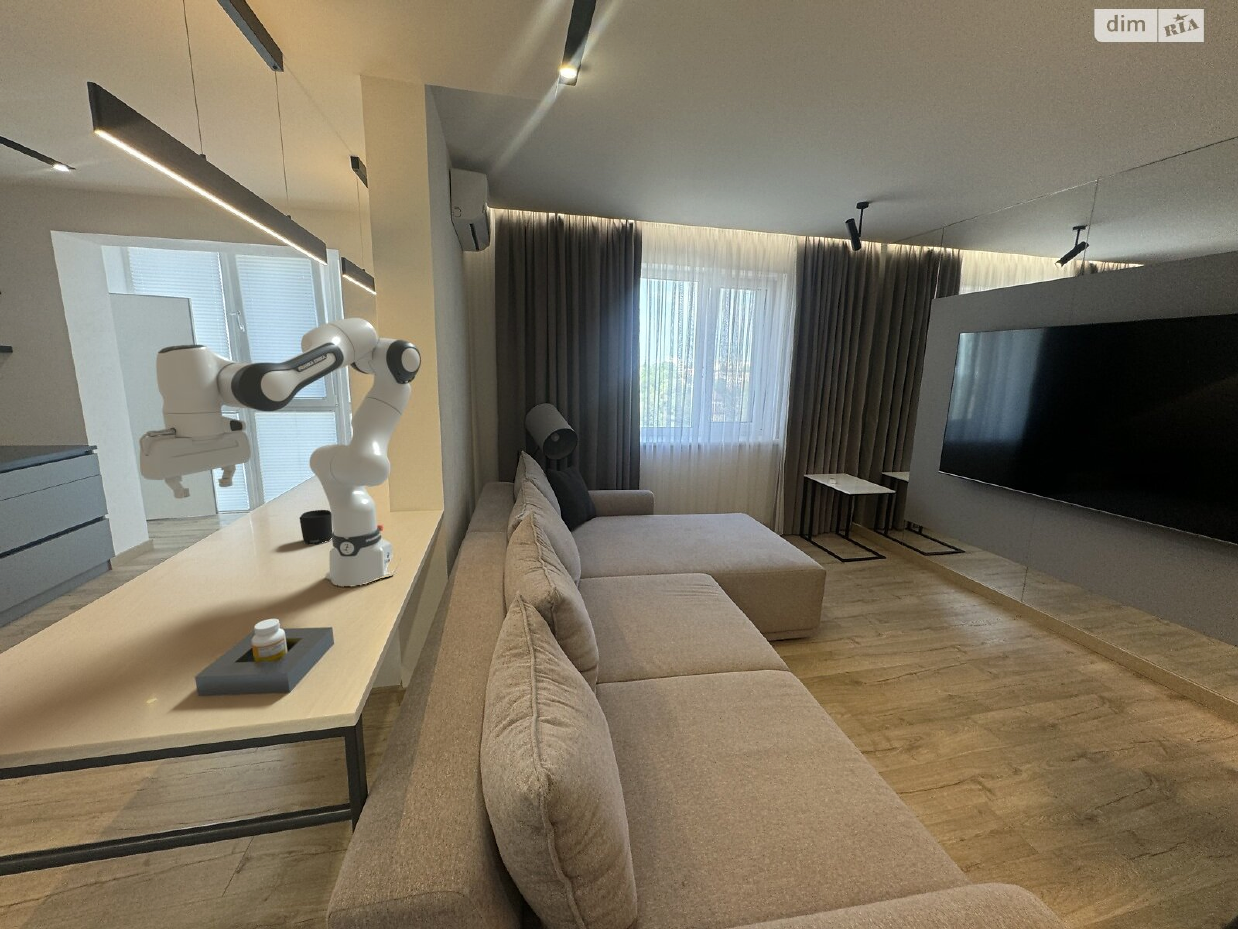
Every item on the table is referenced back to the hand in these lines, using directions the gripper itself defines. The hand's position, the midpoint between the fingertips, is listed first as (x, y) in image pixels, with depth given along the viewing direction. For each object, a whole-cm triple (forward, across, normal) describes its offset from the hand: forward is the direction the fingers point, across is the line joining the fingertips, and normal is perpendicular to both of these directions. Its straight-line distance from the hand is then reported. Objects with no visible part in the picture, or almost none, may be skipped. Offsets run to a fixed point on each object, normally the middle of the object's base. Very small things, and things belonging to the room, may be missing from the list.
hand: (205, 491), depth 96 cm
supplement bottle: (+34, -8, -18) cm, 39 cm away
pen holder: (+34, +60, +25) cm, 73 cm away
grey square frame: (+34, -8, -18) cm, 39 cm away
